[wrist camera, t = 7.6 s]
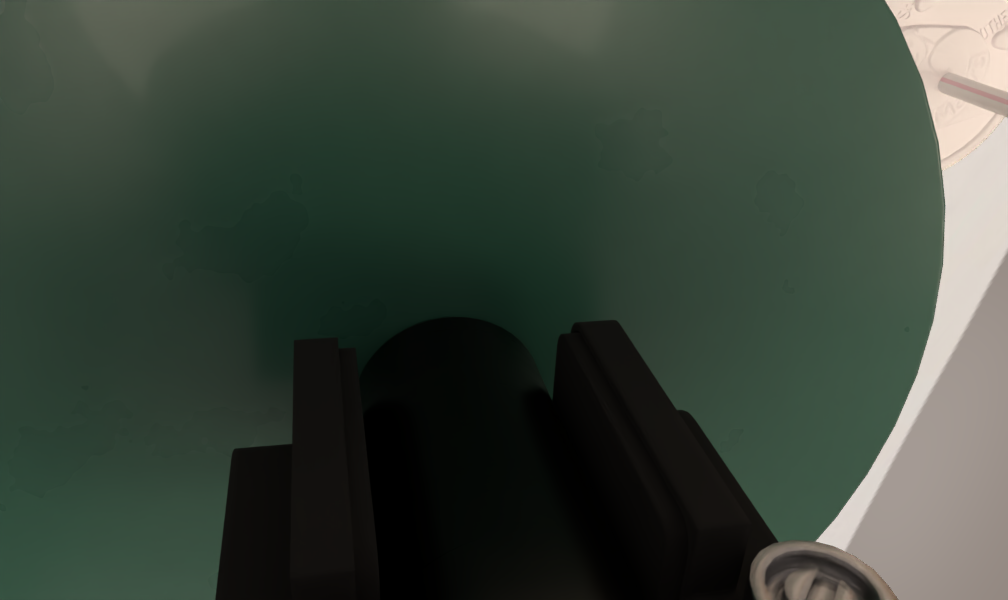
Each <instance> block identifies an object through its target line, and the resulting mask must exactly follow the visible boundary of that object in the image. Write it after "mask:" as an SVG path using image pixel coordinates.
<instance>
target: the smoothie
mask: <svg viewBox="0 0 1008 600" xmlns="http://www.w3.org/2000/svg"><path fill="white" fill-rule="evenodd" d="M885 1H886V3H887V5H888V6H889V8H890V9H891V11H892V12H893V14H894V16H895V17H896V19H897V21H898V24H899V26H900V28H901V31H902V33H903V35H904V38H905V40H906V42H907V45H908V47H909V49H910V52H911V54H912V56H913V59H914V61H915V64H916V66H917V68H918V71H919V73H920V75H921V78H922V80H923V83H924V87H925V91H926V95H927V99H928V103H929V107H930V110H931V114H932V118H933V122H934V126H935V130H936V134H937V138H938V142H939V149H940V159H941V169H942V171H943V170H945V169H947V168H949V167H950V166H952V165H954V164H955V163H957V162H959V161H960V160H962V159H963V158H964V157H966V156H967V155H969V154H970V153H971V152H972V151H974V150H975V149H976V148H977V147H978V146H979V145H980V144H981V143H983V142H984V141H985V140H986V139H987V138H988V136H989V135H990V134H991V133H992V132H993V131H994V130H995V129H996V127H997V126H998V125H999V124H1000V123H1001V121H1002V120H1003V118H1004V117H1007V118H1008V0H885Z"/></svg>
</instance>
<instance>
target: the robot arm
mask: <svg viewBox="0 0 1008 600" xmlns="http://www.w3.org/2000/svg"><path fill="white" fill-rule="evenodd" d="M552 401H553V404H554V406H555V408H556V410H557V412H558V415H559V417H560V419H561V421H562V423H563V426H564V428H565V430H566V432H567V435H568V437H569V439H570V441H571V443H572V446H573V448H574V450H575V452H576V455H577V457H578V459H579V461H580V463H581V466H582V468H583V470H584V472H585V475H586V477H587V479H588V481H589V483H590V486H591V488H592V490H593V492H594V495H595V497H596V499H597V501H598V503H599V506H600V508H601V510H602V512H603V514H604V517H605V519H606V521H607V523H608V526H609V528H610V530H611V532H612V534H613V537H614V539H615V541H616V543H617V546H618V548H619V550H620V552H621V554H622V557H623V559H624V561H625V563H626V566H627V568H628V570H629V572H630V574H631V577H632V579H633V581H634V583H635V585H636V588H637V590H638V592H639V594H640V597H641V599H642V600H898V598H897V597H896V596H895V594H894V593H893V591H892V590H891V589H890V587H889V586H888V585H887V584H886V582H885V581H884V580H883V579H882V578H881V577H880V576H879V575H878V574H877V572H876V571H875V570H874V569H872V568H871V567H870V566H868V565H867V564H865V563H864V562H862V561H861V560H860V559H858V558H857V557H855V556H854V555H851V554H849V553H847V552H845V551H843V550H841V549H838V548H836V547H834V546H830V545H827V544H823V543H819V542H815V541H806V540H788V541H783V542H778V540H777V539H776V537H775V536H774V535H773V533H772V532H771V530H770V529H769V527H768V526H767V524H766V523H765V521H764V520H763V518H762V517H761V515H760V514H759V513H758V511H757V510H756V508H755V507H754V505H753V504H752V502H751V501H750V499H749V498H748V496H747V495H746V493H745V492H744V491H743V489H742V488H741V486H740V485H739V483H738V482H737V480H736V479H735V477H734V476H733V474H732V473H731V471H730V470H729V469H728V467H727V466H726V464H725V463H724V461H723V460H722V458H721V457H720V455H719V454H718V452H717V451H716V449H715V448H714V447H713V445H712V444H711V442H710V441H709V439H708V438H707V436H706V435H705V433H704V432H703V430H702V429H701V427H700V426H699V425H698V423H697V422H696V420H695V419H694V418H693V416H692V415H691V414H690V413H689V412H687V411H684V410H676V408H675V407H674V405H673V404H672V402H671V400H670V399H669V397H668V396H667V394H666V393H665V391H664V390H663V388H662V387H661V385H660V384H659V382H658V381H657V379H656V378H655V376H654V375H653V373H652V372H651V370H650V369H649V367H648V366H647V364H646V363H645V361H644V360H643V358H642V357H641V355H640V354H639V352H638V351H637V349H636V348H635V346H634V344H633V343H632V341H631V340H630V338H629V337H628V335H627V334H626V332H625V331H624V329H623V328H622V326H621V325H620V323H619V322H618V321H617V320H603V321H587V322H575V323H574V324H573V326H572V329H571V333H566V334H560V336H559V338H558V343H557V352H556V363H555V375H554V386H553V398H552ZM215 600H380V582H379V565H378V553H377V542H376V533H375V523H374V514H373V505H372V495H371V486H370V477H369V468H368V458H367V449H366V440H365V430H364V421H363V412H362V403H361V393H360V384H359V375H358V365H357V356H356V348H355V347H354V348H338V337H334V338H318V339H302V340H294V358H293V423H292V444H282V445H271V446H259V447H248V448H237V449H234V450H233V452H232V458H231V465H230V474H229V483H228V492H227V500H226V509H225V518H224V527H223V536H222V544H221V553H220V562H219V571H218V579H217V588H216V597H215Z"/></svg>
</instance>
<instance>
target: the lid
mask: <svg viewBox="0 0 1008 600" xmlns="http://www.w3.org/2000/svg"><path fill="white" fill-rule="evenodd" d="M944 223H945V198H944V188H943V179H942V169H941V159H940V149H939V142H938V138H937V134H936V130H935V126H934V122H933V118H932V114H931V110H930V107H929V103H928V99H927V95H926V91H925V87H924V83H923V80H922V78H921V75H920V73H919V71H918V68H917V66H916V64H915V61H914V59H913V56H912V54H911V52H910V49H909V47H908V45H907V42H906V40H905V38H904V35H903V33H902V31H901V28H900V26H899V24H898V21H897V19H896V17H895V16H894V14H893V12H892V11H891V9H890V8H889V6H888V5H887V3H886V1H885V0H0V600H215V597H216V588H217V579H218V571H219V562H220V553H221V544H222V536H223V527H224V518H225V509H226V500H227V492H228V483H229V474H230V465H231V458H232V452H233V450H234V449H237V448H248V447H259V446H271V445H282V444H292V423H293V358H294V340H302V339H318V338H334V337H338V348H354V347H355V348H356V356H357V365H358V375H359V384H360V393H361V403H362V412H363V421H364V430H365V440H366V449H367V458H368V468H369V477H370V486H371V495H372V505H373V514H374V523H375V533H376V542H377V553H378V565H379V582H380V600H642V599H641V597H640V594H639V592H638V590H637V588H636V585H635V583H634V581H633V579H632V577H631V574H630V572H629V570H628V568H627V566H626V563H625V561H624V559H623V557H622V554H621V552H620V550H619V548H618V546H617V543H616V541H615V539H614V537H613V534H612V532H611V530H610V528H609V526H608V523H607V521H606V519H605V517H604V514H603V512H602V510H601V508H600V506H599V503H598V501H597V499H596V497H595V495H594V492H593V490H592V488H591V486H590V483H589V481H588V479H587V477H586V475H585V472H584V470H583V468H582V466H581V463H580V461H579V459H578V457H577V455H576V452H575V450H574V448H573V446H572V443H571V441H570V439H569V437H568V435H567V432H566V430H565V428H564V426H563V423H562V421H561V419H560V417H559V415H558V412H557V410H556V408H555V406H554V404H553V401H552V398H553V386H554V375H555V363H556V352H557V343H558V338H559V336H560V334H566V333H571V329H572V326H573V324H574V323H575V322H587V321H603V320H617V321H618V322H619V323H620V325H621V326H622V328H623V329H624V331H625V332H626V334H627V335H628V337H629V338H630V340H631V341H632V343H633V344H634V346H635V348H636V349H637V351H638V352H639V354H640V355H641V357H642V358H643V360H644V361H645V363H646V364H647V366H648V367H649V369H650V370H651V372H652V373H653V375H654V376H655V378H656V379H657V381H658V382H659V384H660V385H661V387H662V388H663V390H664V391H665V393H666V394H667V396H668V397H669V399H670V400H671V402H672V404H673V405H674V407H675V408H676V410H684V411H687V412H689V413H690V414H691V415H692V416H693V418H694V419H695V420H696V422H697V423H698V425H699V426H700V427H701V429H702V430H703V432H704V433H705V435H706V436H707V438H708V439H709V441H710V442H711V444H712V445H713V447H714V448H715V449H716V451H717V452H718V454H719V455H720V457H721V458H722V460H723V461H724V463H725V464H726V466H727V467H728V469H729V470H730V471H731V473H732V474H733V476H734V477H735V479H736V480H737V482H738V483H739V485H740V486H741V488H742V489H743V491H744V492H745V493H746V495H747V496H748V498H749V499H750V501H751V502H752V504H753V505H754V507H755V508H756V510H757V511H758V513H759V514H760V515H761V517H762V518H763V520H764V521H765V523H766V524H767V526H768V527H769V529H770V530H771V532H772V533H773V535H774V536H775V537H776V539H777V540H778V542H783V541H788V540H806V541H816V540H817V539H818V538H819V537H820V535H821V534H822V533H823V532H824V531H825V530H826V529H827V527H828V526H829V525H830V524H831V523H832V522H833V521H834V519H835V518H836V517H837V516H838V514H839V513H840V511H841V510H842V509H843V507H844V506H845V504H846V503H847V502H848V500H849V499H850V498H851V496H852V495H853V493H854V492H855V491H856V489H857V488H858V486H859V485H860V484H861V482H862V481H863V479H864V478H865V477H866V475H867V474H868V472H869V470H870V469H871V467H872V465H873V463H874V462H875V460H876V458H877V456H878V455H879V453H880V451H881V449H882V448H883V446H884V444H885V442H886V441H887V439H888V437H889V435H890V434H891V432H892V430H893V428H894V427H895V424H896V422H897V420H898V418H899V415H900V413H901V411H902V408H903V406H904V404H905V401H906V399H907V397H908V394H909V392H910V390H911V388H912V385H913V383H914V381H915V378H916V376H917V373H918V370H919V367H920V363H921V360H922V357H923V353H924V350H925V347H926V343H927V340H928V337H929V333H930V330H931V327H932V323H933V319H934V314H935V308H936V302H937V296H938V290H939V284H940V278H941V273H942V267H943V250H944Z"/></svg>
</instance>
